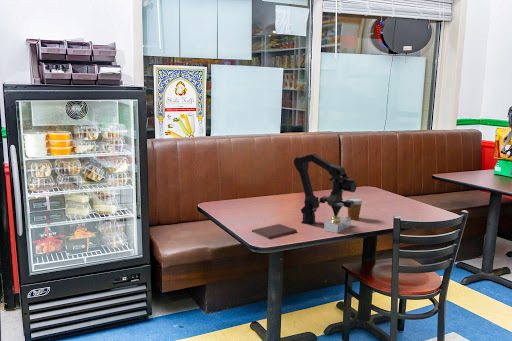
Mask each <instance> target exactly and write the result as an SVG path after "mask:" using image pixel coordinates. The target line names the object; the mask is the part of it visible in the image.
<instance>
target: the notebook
mask: <svg viewBox="0 0 512 341" xmlns="http://www.w3.org/2000/svg"><path fill="white" fill-rule="evenodd" d="M251 232H252V233H254V234H256V235H258V234H259V236H261V237H263V238H265V237H266V239H269V240H271V239H275V237H276V238H279V237H282V236H288V235H292V234H296V233H298V231H297V229H296V228H293V227H290V226H286V225H283V224H281V223H278V224H273V225H268V226H265V227H259V228H255V229H251Z"/></svg>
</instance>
